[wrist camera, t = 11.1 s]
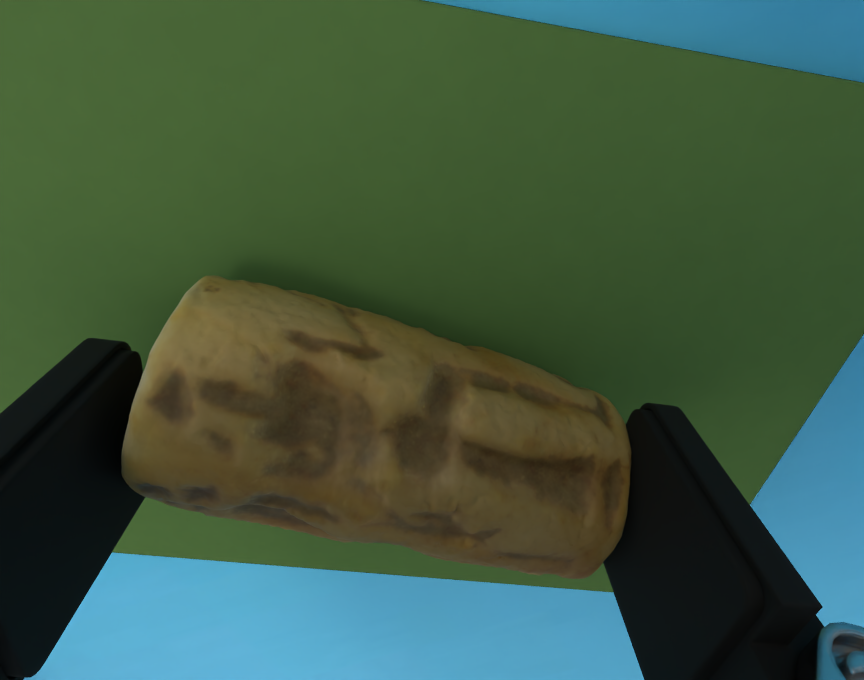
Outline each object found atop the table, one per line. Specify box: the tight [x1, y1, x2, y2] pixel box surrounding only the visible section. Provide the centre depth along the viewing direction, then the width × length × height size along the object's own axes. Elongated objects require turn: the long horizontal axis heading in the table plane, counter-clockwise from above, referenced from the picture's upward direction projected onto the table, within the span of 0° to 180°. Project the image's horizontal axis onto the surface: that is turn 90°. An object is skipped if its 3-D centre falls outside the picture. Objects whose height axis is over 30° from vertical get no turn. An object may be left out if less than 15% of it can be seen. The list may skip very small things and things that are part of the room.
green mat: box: [0, 0, 864, 592], centre depth 11 cm, size 20×14×1 cm
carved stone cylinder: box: [121, 276, 632, 579], centre depth 10 cm, size 8×4×4 cm, turn 69°
